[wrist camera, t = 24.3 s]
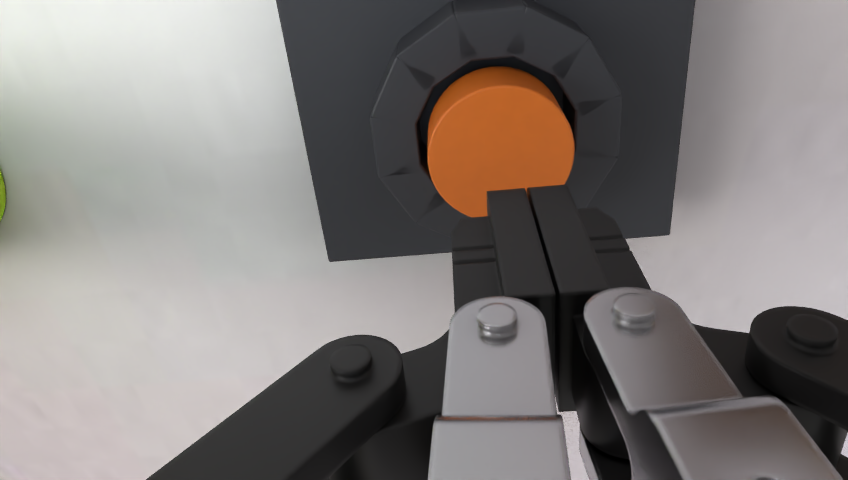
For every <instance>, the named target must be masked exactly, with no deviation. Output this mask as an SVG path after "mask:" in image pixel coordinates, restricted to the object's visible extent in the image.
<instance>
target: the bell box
mask: <svg viewBox="0 0 848 480" xmlns="http://www.w3.org/2000/svg"><path fill="white" fill-rule="evenodd" d="M276 2H277V7H278V12H279V17H280V22H281V27H282V32H283V37H284V42H285V47H286V52H287V57H288V62H289V67H290V72H291V77H292V81H293V86H294V91H295V96H296V101H297V106H298V111H299V116H300V121H301V126H302V131H303V136H304V141H305V146H306V151H307V156H308V160H309V165H310V170H311V175H312V180H313V185H314V190H315V195H316V200H317V205H318V210H319V215H320V220H321V225H322V230H323V235H324V239H325V244H326V249H327V254H328V259H329V261H330V262H334V261H346V260H359V259H372V258H385V257H397V256H410V255H423V254H436V253H448V252H452V241H451V232H452V231H453V229H454V228H455V227H456V225H457V224H458V222H459V221H460V220H461V218H471V217H469V216H467V215H465V214H463V213H461V212H459V211H458V210H456V209H455V208H453V207H452V206H451V205H450V204H448V203H447V202H446V201H445V200H444V199H443V197H442V196H441V195H440V194H439V192H438V191H437V189H436V188H435V186H434V184H433V181H432V179H431V176H430V173H429V168H428V156H427V152H428V125H429V120H430V116H431V113H432V110H433V108H434V106H435V104H436V102H437V100H438V99H439V97H440V96H441V95H442V93H443V92H444V91H445V90H446V89H447V88H448V87H449V86H450V85H451V84H452V83H453V82H455V81H456V80H457V79H459V78H460V77H462V76H464V75H465V74H468V73H470V72H472V71H475V70H478V69H481V68H486V67H495V66H503V67H512V68H516V69H520V70H522V71H525V72H527V73H529V74H531V75H533V76H535V77H536V78H538V79H539V80H540V81H541V82H543V83H544V84H545V85H546V86H547V87H548V88H549V90H550V91H551V92H552V94H553V95H554V97H555V99H556V100H557V102H558V104H559V106H560V108H561V109H562V111H563V113H564V115H565V117H566V119H567V120H568V122H569V124H570V127H571V130H572V133H573V138H574V146H575V153H574V161H573V166H572V169H571V172H570V175H569V177H568V179H567V181H566V183H565V184H566V185H567V187H568V189H569V191H570V193H571V196H572V198H573V201H574V203H575V205H576V208H577V209H582V208H594V207H597V208H598V209H600V210H601V211H603V212H604V213H606V214H607V215H609V216H610V217H612V218H613V219H615V221H616V223H617V225H618V227H619V229H620V231H621V232H622V234H623V238H625V239H627V238H639V237H652V236H665V235H669V234H670V227H671V218H672V209H673V200H674V190H675V181H676V172H677V163H678V154H679V144H680V135H681V126H682V117H683V108H684V98H685V89H686V80H687V71H688V61H689V52H690V43H691V34H692V25H693V15H694V6H695V0H276Z"/></svg>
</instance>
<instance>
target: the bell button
mask: <svg viewBox="0 0 848 480" xmlns="http://www.w3.org/2000/svg"><path fill="white" fill-rule="evenodd" d="M574 153H575V146H574V138H573V133H572V130H571V127H570V124H569V122H568V120H567V119H566V117H565V115H564V113H563V111H562V109H561V108H560V106H559V104H558V102H557V100H556V99H555V97H554V95H553V94H552V92H551V91H550V90H549V88H548V87H547V86H546V85H545V84H544V83H543V82H541V81H540V80H539V79H538V78H536V77H535V76H533V75H531V74H529V73H527V72H525V71H522V70H520V69H516V68H512V67H503V66H495V67H486V68H481V69H478V70H475V71H472V72H470V73H468V74H465V75H464V76H462V77H460V78H459V79H457V80H456V81H455V82H453V83H452V84H451V85H450V86H449V87H448V88H447V89H446V90H445V91H444V92H443V93H442V95H441V96H440V97H439V99H438V100H437V102H436V104H435V106H434V108H433V110H432V113H431V116H430V120H429V125H428V152H427V156H428V168H429V173H430V176H431V179H432V181H433V184H434V186H435V188H436V189H437V191H438V192H439V194H440V195H441V196H442V197H443V199H444V200H445V201H446V202H447V203H448V204H450V205H451V206H452V207H453V208H455V209H456V210H458V211H459V212H461V213H463V214H465V215H467V216H469V217H484V216H487V191H493V190H506V189H518V188H525V190H526V192H527V188H528V187H540V186H552V185H565V183H566V181H567V179H568V177H569V175H570V172H571V169H572V166H573V161H574Z"/></svg>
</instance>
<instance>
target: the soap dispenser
mask: <svg viewBox="0 0 848 480" xmlns="http://www.w3.org/2000/svg"><path fill="white" fill-rule="evenodd" d="M5 204H6V192H5V185H4V181H3V177H2V174H1V171H0V221H1V218H2V216H3V213H4V209H5Z"/></svg>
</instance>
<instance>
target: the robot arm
mask: <svg viewBox="0 0 848 480" xmlns="http://www.w3.org/2000/svg"><path fill="white" fill-rule="evenodd" d="M451 241H452V262H453V283H454V304H455V314H454V315H453V317H452V318H451V321H450V326H449V330H448V331H447V332H446V333H445V334H444V335H443V336H442V337H440V338H439V339H438V340H436V341H434V342H433V343H431V344H429V345H427V346H424V347H422V348H419V349H416V350H413V351H409V352H406V353H403V354H401V353H400V351H399V350H398V348H397V347H396V346H395V345H394V344H392V343H391V342H389V341H388V340H386V339H383V338H380V337H377V336H372V335H354V336H347V337H343V338H339V339H337V340H334V341H331V342H329V343H327V344H325V345H324V346H322V347H321V348H319V349H318V350H316V351H315V352H314V353H312V354H311V355H310V356H308V357H307V358H306V359H305V360H303V361H302V362H301V363H299V364H298V365H297V366H295V367H294V368H293V369H291V370H290V371H289V372H287V373H286V374H285V375H283V376H282V377H281V378H279V379H278V380H277V381H275V382H274V383H273V384H272V385H270V386H269V387H268V388H266V389H265V390H264V391H262V392H261V393H260V394H258V395H257V396H256V397H254V398H253V399H252V400H250V401H249V402H248V403H246V404H245V405H244V406H242V407H241V408H240V409H239V410H237V411H236V412H235V413H233V414H232V415H231V416H229V417H228V418H227V419H225V420H224V421H223V422H221V423H220V424H219V425H217V426H216V427H215V428H213V429H212V430H211V431H210V432H208V433H207V434H206V435H204V436H203V437H202V438H200V439H199V440H198V441H196V442H195V443H194V444H192V445H191V446H190V447H188V448H187V449H186V450H184V451H183V452H182V453H180V454H179V455H178V456H177V457H175V458H174V459H173V460H171V461H170V462H169V463H167V464H166V465H165V466H163V467H162V468H161V469H159V470H158V471H157V472H155V473H154V474H153V475H151V476H150V477H149V478H147V479H146V480H571V476H570V468H569V461H568V453H567V446H566V438H565V431H564V424H563V419H562V416H561V415H557V409H556V401H557V406H558V410H559V412H564V411H577V415H578V419H579V422H580V434H579V450H580V454H581V457H582V460H583V463H584V466H585V469H586V471H587V474H588V477H589V480H848V458H847V457H845V456H843V455H842V454H841V451H842V448H843V445H844V442H845V438H846V435H847V432H848V320H846V319H843V318H841V317H838V316H836V315H833V314H830V313H827V312H824V311H820V310H817V309H812V308H806V307H796V306H785V307H777V308H772V309H769V310H766V311H763V312H762V313H760V314H759V315H757V316H756V317H755V318H754V320H753V322H752V324H751V328H750V333H743V332H736V331H728V330H721V329H714V328H708V327H703V326H699V325H695V324H692V323H691V322H690V320H689V319H688V317H687V316H686V314H685V313H684V312H683V310H682V309H681V308H680V306H679V305H678V304H677V303H676V302H674V301H673V300H672V299H670V298H669V297H667V296H665V295H663V294H661V293H658V292H655V291H652V290H651V288H650V286H649V284H648V282H647V281H646V279H645V277H644V275H643V273H642V271H641V269H640V267H639V265H638V263H637V261H636V259H635V257H634V256H633V254H632V252H631V251H630V250H629V246H628V244H627V242H626V240H625V238H623V234H622V232H621V231H620V229H619V227H618V225H617V223H616V221H615V219H613V218H612V217H610V216H609V215H607V214H606V213H604V212H603V211H601V210H600V209H598V208H597V207H594V208H582V209H577V208H576V205H575V203H574V201H573V198H572V196H571V193H570V191H569V189H568V187H567V185H566V184H565V185H552V186H540V187H528V188H527V192H526V190H525V188H518V189H506V190H493V191H487V216H484V217H471V218H461V220H460V221H459V222H458V224H457V225H456V227H455V228H454V229H453V231H452V232H451ZM555 397H556V401H555Z"/></svg>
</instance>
